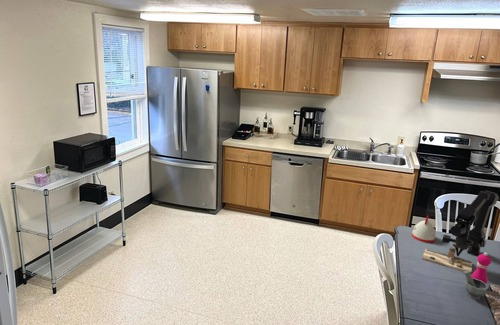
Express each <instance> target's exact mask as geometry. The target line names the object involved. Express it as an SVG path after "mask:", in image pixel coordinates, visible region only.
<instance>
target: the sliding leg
mask: <svg viewBox="0 0 500 325" xmlns="http://www.w3.org/2000/svg"><path fill="white" fill-rule="evenodd" d="M447 254H448V258H450V260H449V263H451V259H454V256H456V255H455V254H456V249H455V247H451V246H450V247H449V251H448V253H447Z"/></svg>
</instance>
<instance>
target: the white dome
mask: <svg viewBox="0 0 500 325" xmlns="http://www.w3.org/2000/svg"><path fill="white" fill-rule="evenodd" d="M436 234H437V233H436V229H435V228H434V226H433V224H432V223H431V222H430V221H429V215H426V217H425V220H421V221H419V222H418V223H417V224H416V223H415V225H414V226H413V229H412V232H411V237H412V238H413V239H415V240H416V241H419V242H422V243H434V242H435V240H436V236H437V235H436Z"/></svg>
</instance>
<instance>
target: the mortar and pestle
mask: <svg viewBox="0 0 500 325" xmlns="http://www.w3.org/2000/svg"><path fill="white" fill-rule="evenodd" d="M463 274H464V275H465V278H466V279H465V280H464V287H465V289H466V295H467V296H468V297H469V298H471V299H473V300H480V299H481V298H482V296H483V295H485V294H486V293H487V292H488V289H489V287H488V286H489V285H487V284H488V283H487V284H486V283H484V282H483V281H481V280H478V279H475V278H472V277H471V276H472V274H470V271H464V272H463Z"/></svg>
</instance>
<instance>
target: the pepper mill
mask: <svg viewBox="0 0 500 325" xmlns="http://www.w3.org/2000/svg"><path fill="white" fill-rule="evenodd" d="M476 260H477V263H476V265H477V266H476V270H474V272H473V273H471V277H472V278H475V279H478V280H481V281H483V282H484V283H486V284H488V275H487V270H488V269H489V266H490V264H491V263H492V258H491V257H490V255H489V253H488V252H487V251H486V252H483V253H482V254H480V255H479V256H477V258H476Z"/></svg>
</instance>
